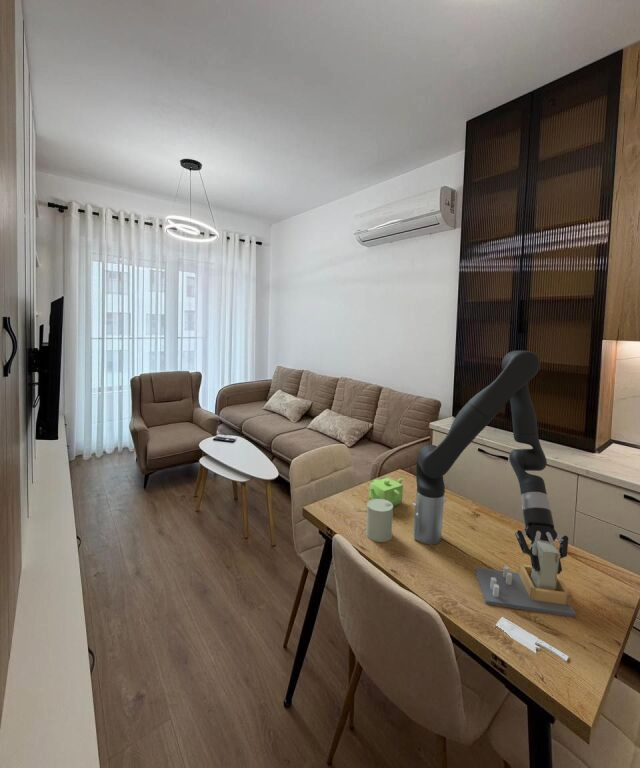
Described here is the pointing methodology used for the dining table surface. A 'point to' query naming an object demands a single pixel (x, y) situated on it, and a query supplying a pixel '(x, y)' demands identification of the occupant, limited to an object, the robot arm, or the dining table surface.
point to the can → (379, 520)
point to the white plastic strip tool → (527, 638)
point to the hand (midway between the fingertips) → (547, 571)
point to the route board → (523, 591)
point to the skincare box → (546, 566)
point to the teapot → (387, 490)
